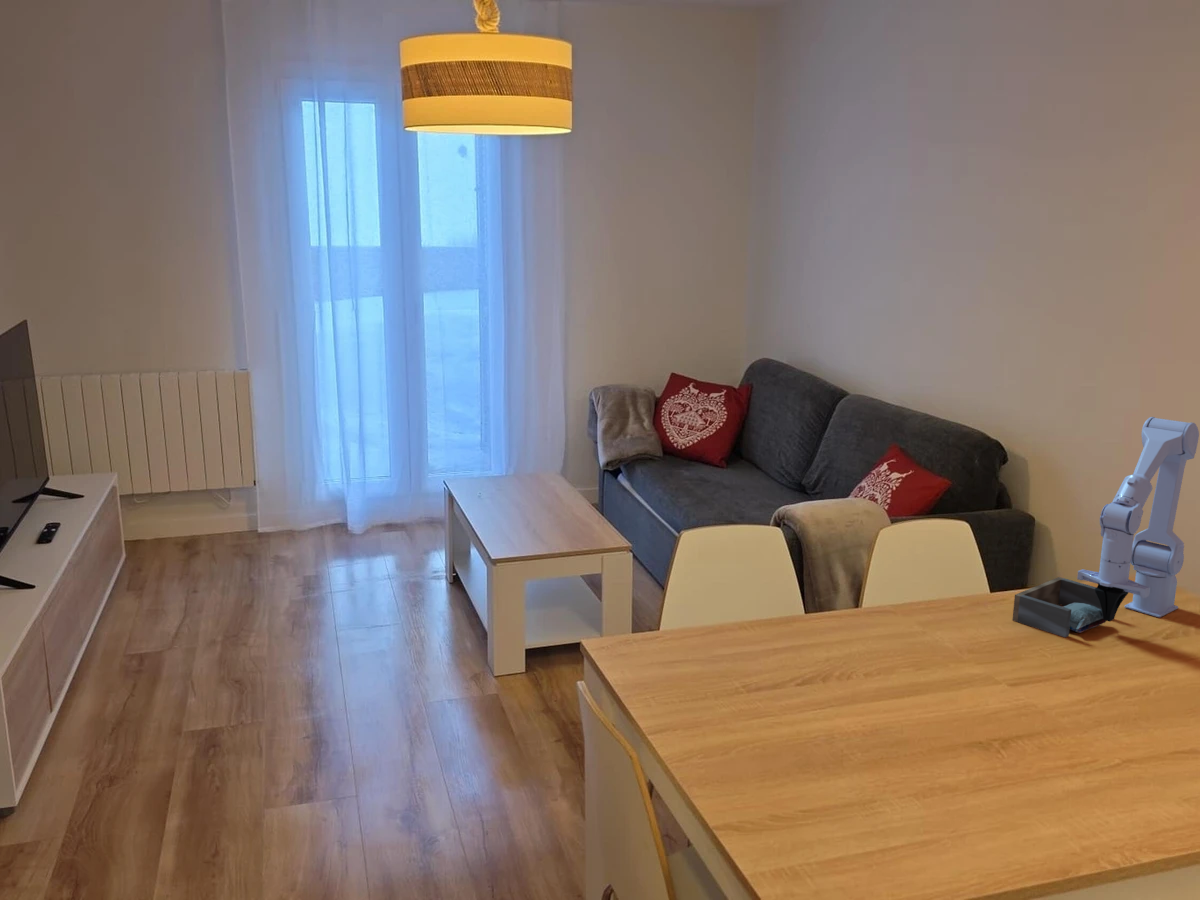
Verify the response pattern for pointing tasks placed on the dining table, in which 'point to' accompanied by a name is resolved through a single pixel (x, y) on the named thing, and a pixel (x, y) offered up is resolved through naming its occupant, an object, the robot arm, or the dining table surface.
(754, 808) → the dining table surface
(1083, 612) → the packaged food
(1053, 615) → the grey u-shaped bracket
